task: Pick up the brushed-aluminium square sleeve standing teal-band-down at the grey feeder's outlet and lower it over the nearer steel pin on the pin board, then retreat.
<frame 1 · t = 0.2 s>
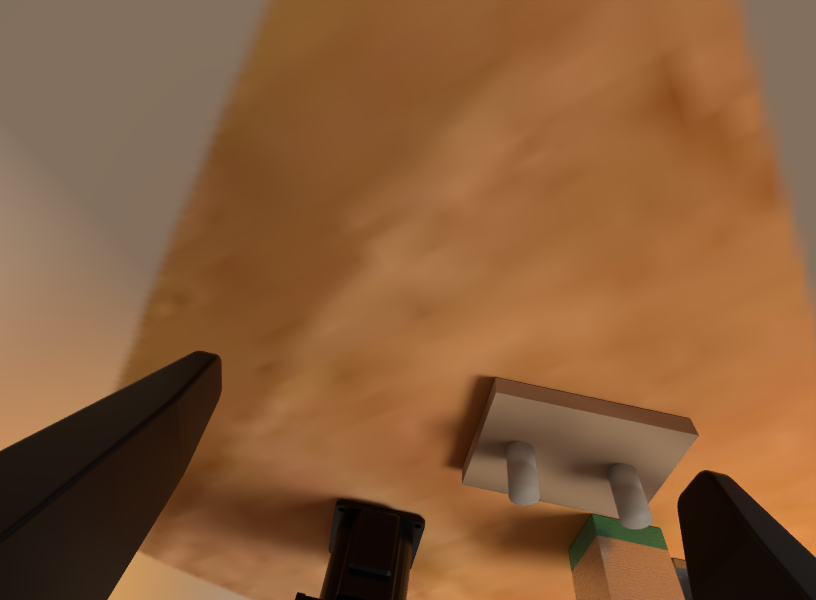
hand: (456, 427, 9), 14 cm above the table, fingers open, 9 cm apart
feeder: (732, 592, 35), on the table
pin board: (567, 445, 29), on the table
sleeve: (612, 540, 33), on the table
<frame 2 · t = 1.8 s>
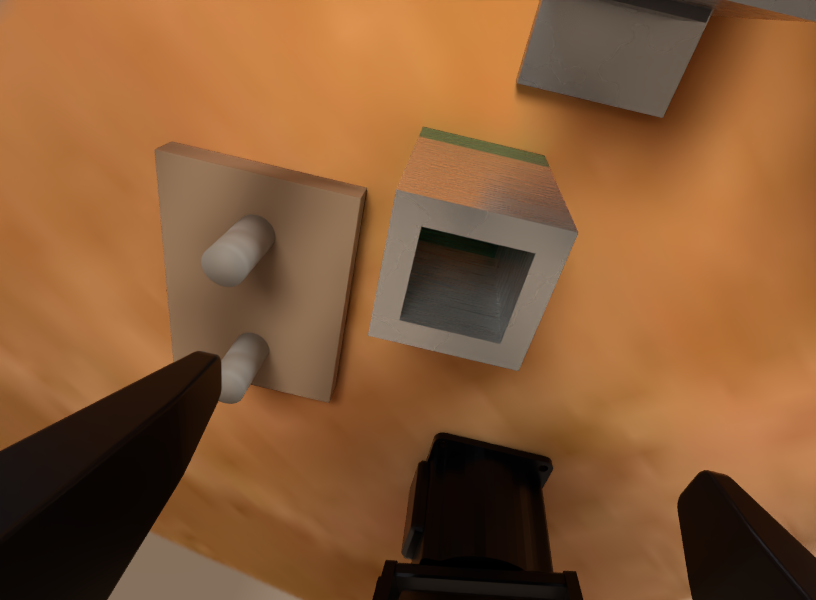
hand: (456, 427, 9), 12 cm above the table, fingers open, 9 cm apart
pin board: (264, 280, 22), on the table
sleeve: (467, 199, 19), on the table
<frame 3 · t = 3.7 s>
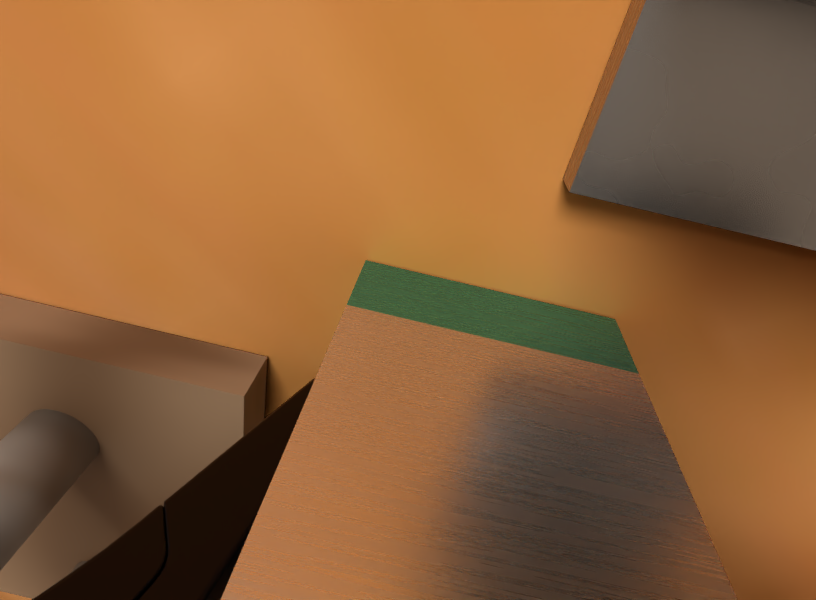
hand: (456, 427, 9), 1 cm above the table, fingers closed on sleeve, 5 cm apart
pin board: (116, 476, 13), on the table
sleeve: (458, 382, 10), on the table, touching gripper
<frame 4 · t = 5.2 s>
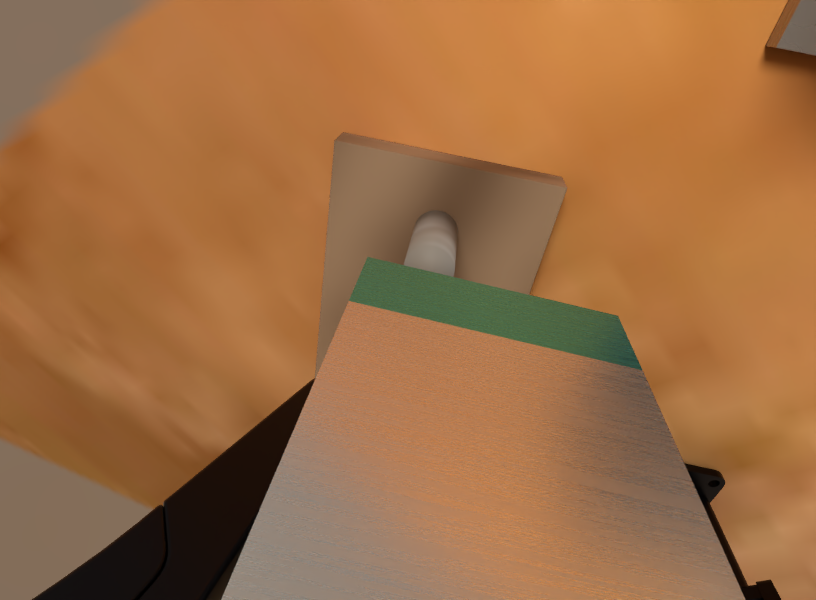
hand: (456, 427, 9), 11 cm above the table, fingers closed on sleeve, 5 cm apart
pin board: (424, 284, 20), on the table
sleeve: (460, 380, 10), point 10 cm above the table, touching gripper
when the fingers open (4 cm above the table, at t = 7.0 s): sleeve drops 1 cm, resting on pin board.
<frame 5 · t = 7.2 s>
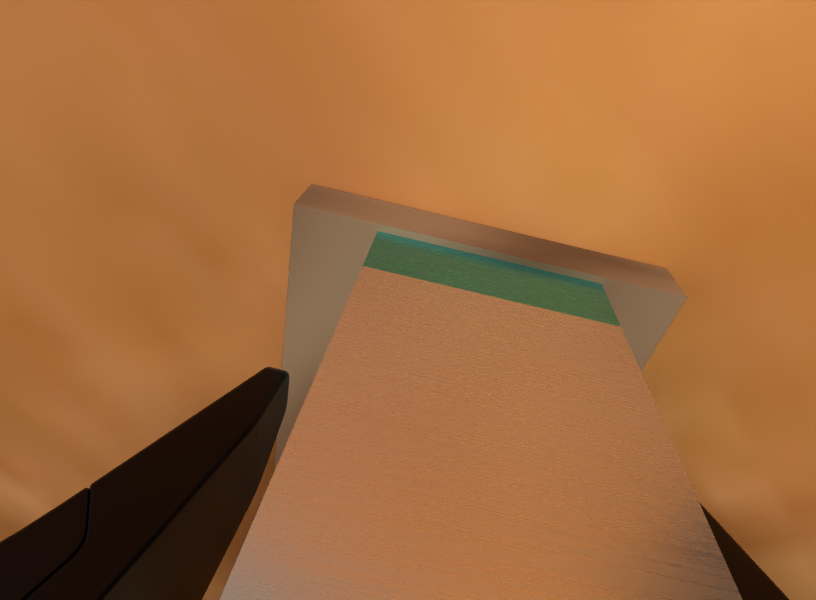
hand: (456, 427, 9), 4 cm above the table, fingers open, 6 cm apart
pin board: (432, 403, 13), on the table
sleeve: (460, 345, 11), point 1 cm above the table, touching pin board
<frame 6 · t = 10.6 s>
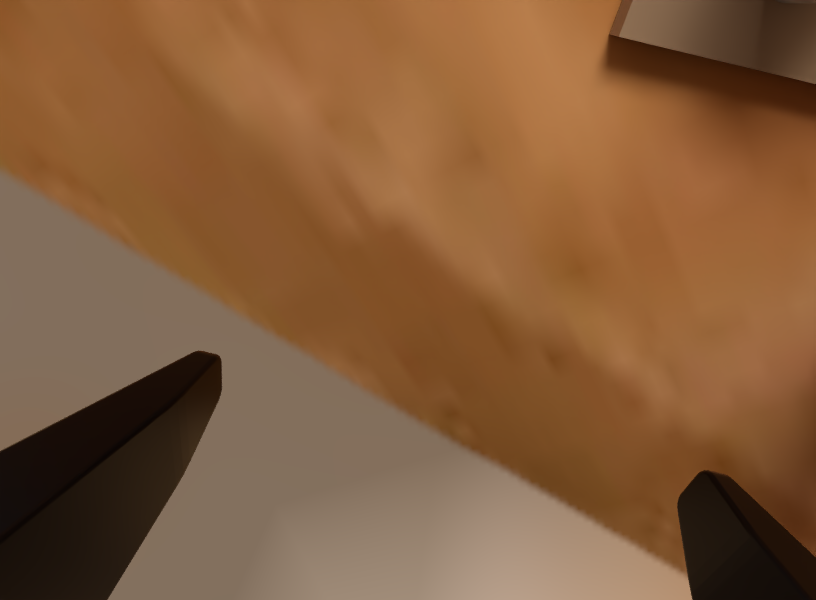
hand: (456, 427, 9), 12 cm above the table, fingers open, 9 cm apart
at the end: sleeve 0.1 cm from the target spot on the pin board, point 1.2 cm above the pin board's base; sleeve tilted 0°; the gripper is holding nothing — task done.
